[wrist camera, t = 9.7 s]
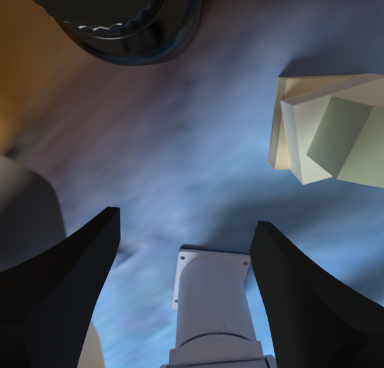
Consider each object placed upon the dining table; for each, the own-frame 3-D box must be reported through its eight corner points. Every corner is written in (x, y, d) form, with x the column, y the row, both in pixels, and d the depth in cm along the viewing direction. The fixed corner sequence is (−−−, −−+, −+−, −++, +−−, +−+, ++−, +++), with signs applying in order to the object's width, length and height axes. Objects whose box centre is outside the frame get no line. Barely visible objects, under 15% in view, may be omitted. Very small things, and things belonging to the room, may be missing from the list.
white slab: (365, 150, 20) (387, 161, 18) (290, 171, 21) (302, 184, 18) (365, 73, 17) (391, 75, 15) (280, 100, 18) (293, 105, 16)
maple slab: (342, 156, 23) (358, 167, 20) (266, 158, 23) (274, 169, 20) (363, 73, 19) (386, 75, 17) (275, 76, 20) (286, 78, 17)
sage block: (358, 165, 18) (400, 191, 14) (306, 154, 17) (336, 179, 14) (388, 109, 16) (446, 123, 12) (331, 96, 15) (373, 106, 12)
